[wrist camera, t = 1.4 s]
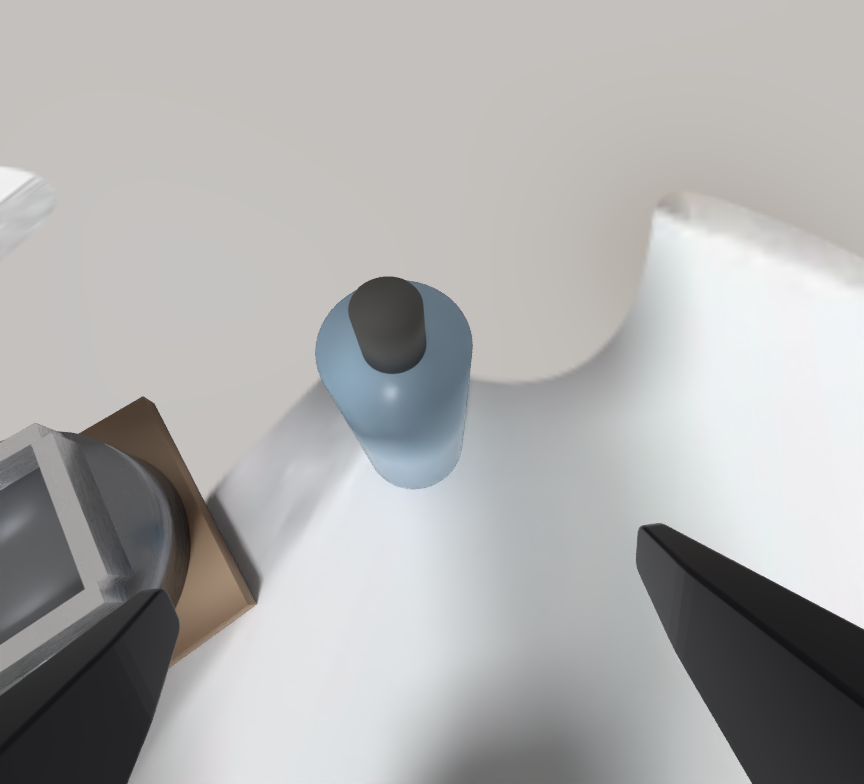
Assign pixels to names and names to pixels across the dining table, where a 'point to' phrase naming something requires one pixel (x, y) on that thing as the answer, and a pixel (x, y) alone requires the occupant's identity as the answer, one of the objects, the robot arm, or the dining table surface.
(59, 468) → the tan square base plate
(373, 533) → the dining table surface
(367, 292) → the blue capped bottle
